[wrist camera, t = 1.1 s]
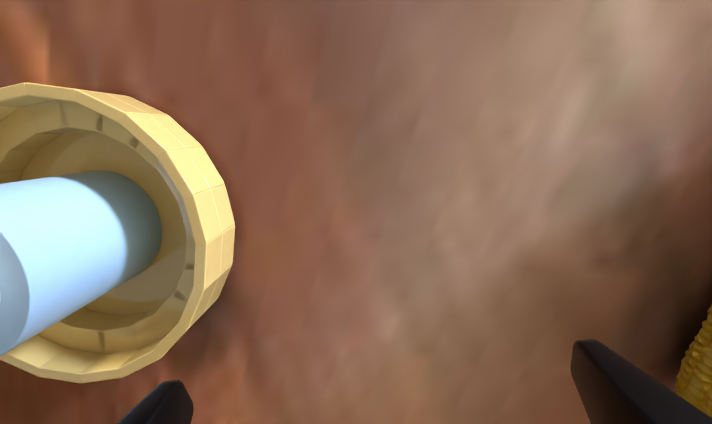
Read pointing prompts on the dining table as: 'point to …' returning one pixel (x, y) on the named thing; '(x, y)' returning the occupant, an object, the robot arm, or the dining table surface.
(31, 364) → the bowl
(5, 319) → the baby bottle
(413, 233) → the dining table surface
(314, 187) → the dining table surface
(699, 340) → the food
